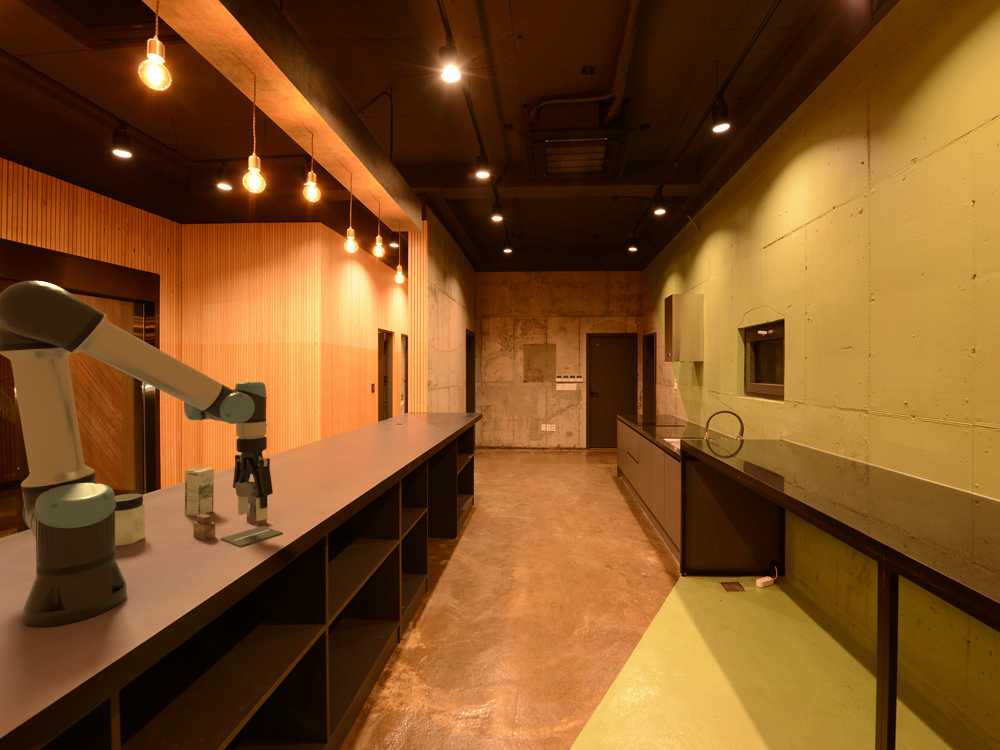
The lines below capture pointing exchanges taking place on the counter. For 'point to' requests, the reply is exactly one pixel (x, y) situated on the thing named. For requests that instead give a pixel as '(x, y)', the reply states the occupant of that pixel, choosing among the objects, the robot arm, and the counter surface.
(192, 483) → the syrup box
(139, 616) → the counter surface
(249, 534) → the mat
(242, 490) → the mechanical component
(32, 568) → the counter surface
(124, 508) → the jar
